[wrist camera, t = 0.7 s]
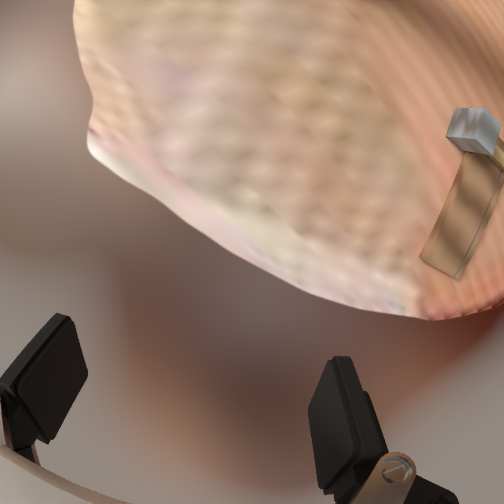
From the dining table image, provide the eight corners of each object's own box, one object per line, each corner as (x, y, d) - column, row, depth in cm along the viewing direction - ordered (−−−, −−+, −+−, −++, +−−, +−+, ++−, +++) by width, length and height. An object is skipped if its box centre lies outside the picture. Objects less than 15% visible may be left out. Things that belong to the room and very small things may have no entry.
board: (475, 120, 30) (483, 120, 28) (504, 151, 31) (512, 152, 29) (418, 256, 38) (425, 261, 36) (452, 274, 39) (458, 280, 37)
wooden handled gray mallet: (454, 108, 30) (484, 107, 23) (501, 154, 31) (529, 160, 25) (445, 136, 31) (475, 139, 25) (493, 179, 33) (521, 188, 26)
